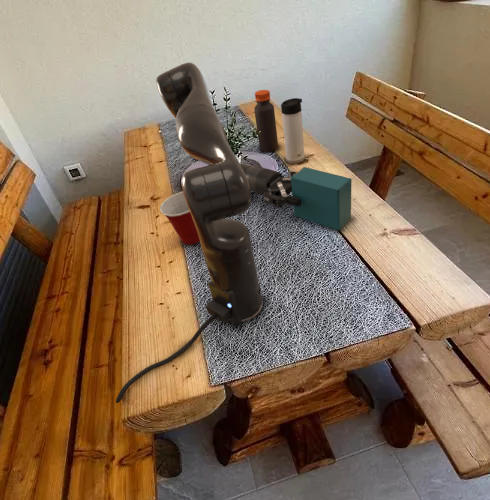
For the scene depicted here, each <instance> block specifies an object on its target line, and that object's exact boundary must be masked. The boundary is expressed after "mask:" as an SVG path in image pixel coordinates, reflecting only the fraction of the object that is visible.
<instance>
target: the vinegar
mask: <svg viewBox="0 0 490 500" xmlns="http://www.w3.org/2000/svg"><path fill="white" fill-rule="evenodd" d="M270 93H271V92H270V90H269V89H260V90H257V91H255V92H254V97H255V98H254V99H255V102H256V105H255V106H254V108H253V110H254V119H255V124H256V132H257V139H258V145H259V150H260V151H261V152H263V153H272V152H275V151H277V150H278V148H279V141H278V139H279V138H278V132H277V122H276V113H275V106H274V104H273V103H271V94H270ZM259 131H261V132H260V134H258V132H259Z"/></svg>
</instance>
